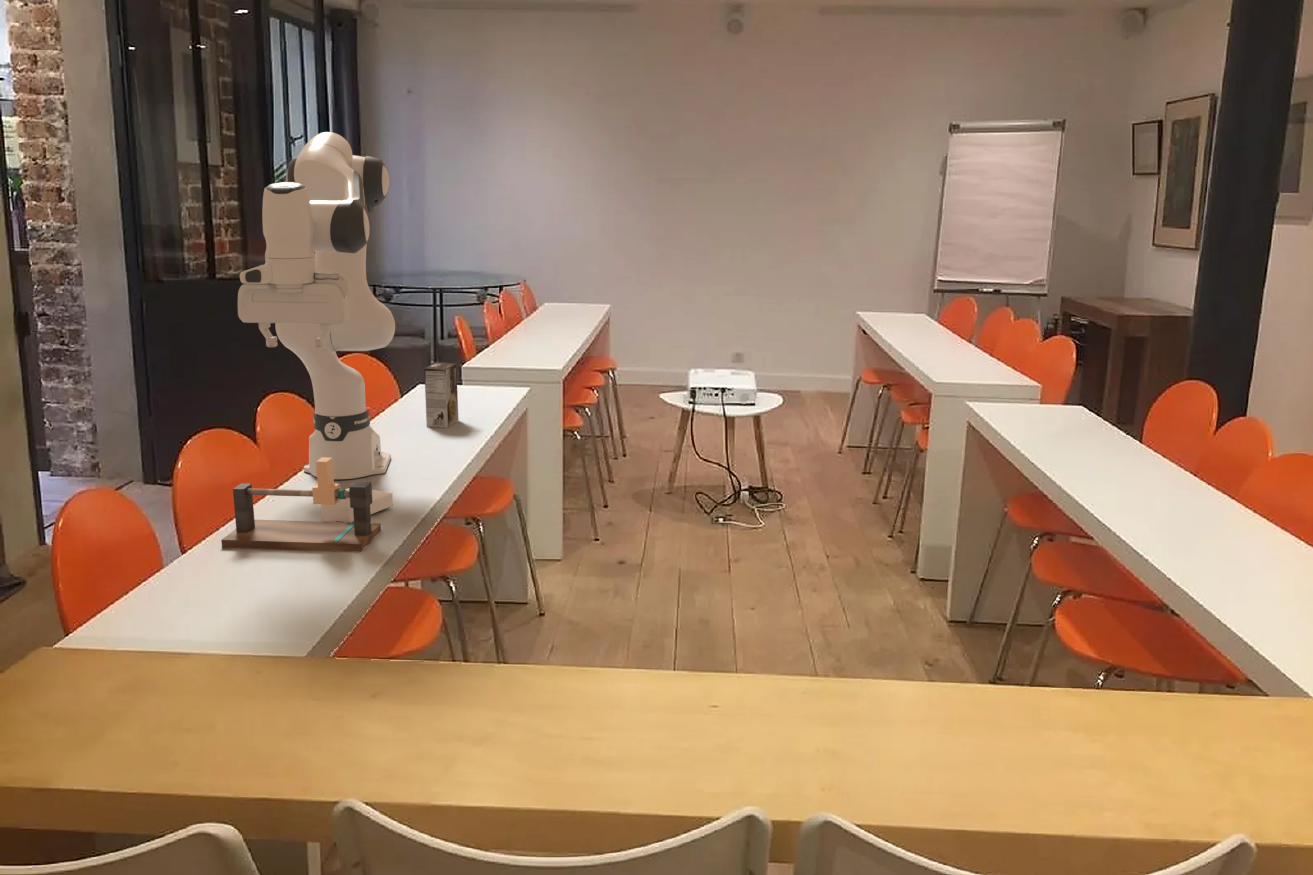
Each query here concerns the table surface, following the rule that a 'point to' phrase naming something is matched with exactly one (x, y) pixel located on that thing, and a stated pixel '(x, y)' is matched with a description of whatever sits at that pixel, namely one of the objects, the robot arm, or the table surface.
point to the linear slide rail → (302, 523)
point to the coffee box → (441, 394)
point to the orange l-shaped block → (325, 483)
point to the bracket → (345, 513)
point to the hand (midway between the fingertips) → (296, 347)
